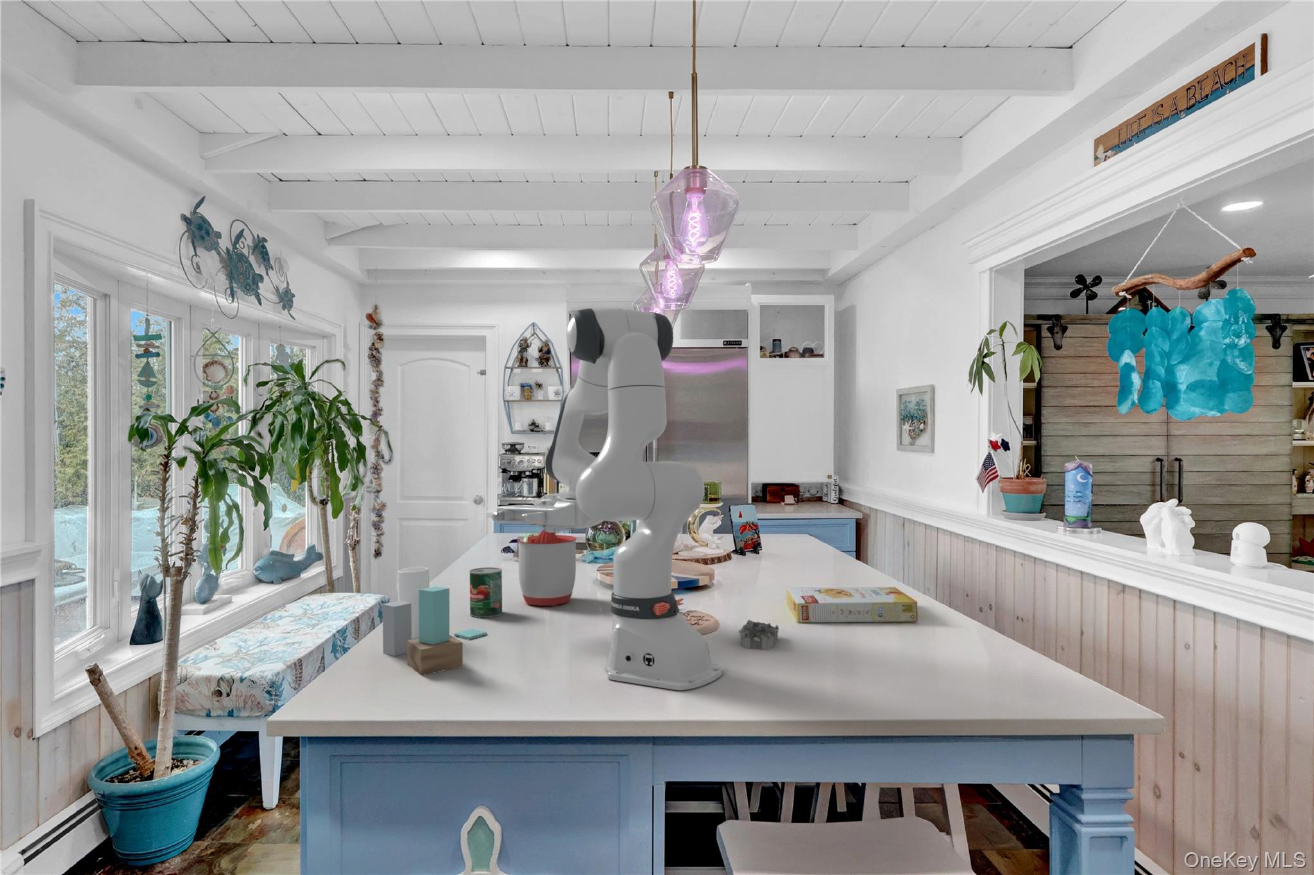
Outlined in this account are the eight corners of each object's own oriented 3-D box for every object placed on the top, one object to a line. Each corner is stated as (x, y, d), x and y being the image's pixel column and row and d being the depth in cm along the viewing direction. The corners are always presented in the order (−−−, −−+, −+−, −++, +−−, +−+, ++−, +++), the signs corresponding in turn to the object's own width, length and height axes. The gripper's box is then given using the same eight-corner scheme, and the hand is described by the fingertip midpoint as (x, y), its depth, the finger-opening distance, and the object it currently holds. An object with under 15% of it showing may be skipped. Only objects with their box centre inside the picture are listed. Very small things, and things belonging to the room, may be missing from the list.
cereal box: (919, 600, 171) (796, 600, 172) (919, 624, 171) (797, 624, 171) (893, 584, 191) (784, 584, 192) (894, 606, 191) (784, 606, 192)
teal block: (449, 640, 143) (449, 588, 143) (433, 644, 139) (433, 591, 139) (435, 637, 145) (435, 586, 145) (418, 642, 141) (418, 589, 141)
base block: (462, 668, 141) (462, 642, 141) (421, 676, 136) (420, 649, 136) (447, 658, 148) (447, 633, 148) (407, 665, 143) (407, 640, 143)
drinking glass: (403, 642, 158) (402, 573, 158) (393, 636, 163) (393, 568, 163) (434, 637, 162) (433, 569, 162) (423, 631, 167) (423, 565, 167)
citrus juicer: (529, 594, 206) (528, 522, 206) (586, 597, 201) (585, 524, 201) (500, 606, 192) (500, 529, 192) (561, 610, 186) (560, 531, 186)
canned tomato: (506, 610, 187) (506, 567, 187) (496, 618, 179) (496, 573, 179) (476, 610, 188) (475, 567, 188) (465, 617, 180) (464, 572, 180)
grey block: (411, 651, 152) (411, 603, 152) (394, 656, 148) (393, 606, 148) (400, 648, 154) (400, 600, 154) (383, 652, 151) (382, 604, 151)
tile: (487, 634, 164) (486, 632, 164) (468, 639, 160) (468, 637, 160) (472, 631, 167) (472, 628, 167) (454, 636, 163) (454, 633, 163)
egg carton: (771, 652, 150) (771, 632, 150) (736, 648, 153) (735, 628, 153) (781, 638, 160) (781, 619, 160) (748, 635, 163) (748, 616, 163)
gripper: (523, 498, 176) (477, 502, 165) (586, 499, 164) (541, 504, 153) (523, 524, 176) (477, 530, 165) (587, 528, 164) (541, 534, 153)
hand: (508, 517), depth 159 cm, fingers open, 8 cm apart
